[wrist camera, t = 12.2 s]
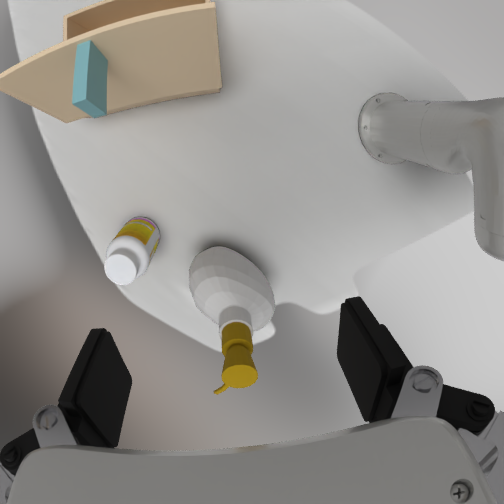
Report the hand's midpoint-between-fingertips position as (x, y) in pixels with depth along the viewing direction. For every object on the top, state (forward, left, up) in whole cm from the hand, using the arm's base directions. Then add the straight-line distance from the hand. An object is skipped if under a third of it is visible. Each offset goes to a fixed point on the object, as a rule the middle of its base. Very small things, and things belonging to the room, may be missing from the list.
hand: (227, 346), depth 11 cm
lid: (+9, -15, -21) cm, 27 cm away
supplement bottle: (+15, +8, -38) cm, 42 cm away
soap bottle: (+1, +16, -38) cm, 42 cm away
